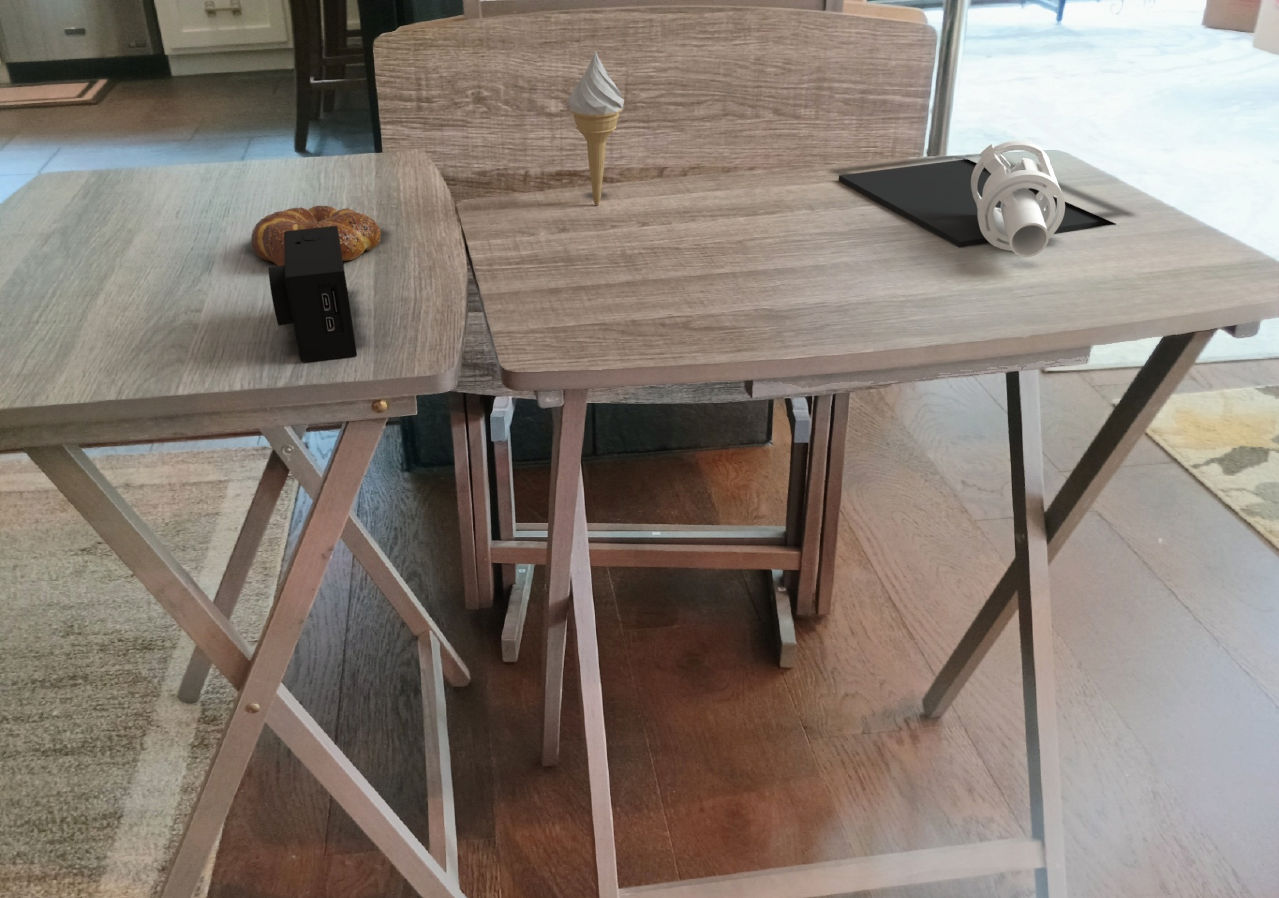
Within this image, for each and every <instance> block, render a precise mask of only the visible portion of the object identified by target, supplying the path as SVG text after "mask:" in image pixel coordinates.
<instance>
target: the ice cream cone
mask: <svg viewBox="0 0 1279 898" xmlns="http://www.w3.org/2000/svg"><path fill="white" fill-rule="evenodd" d="M622 97H623V95H622V93H621V91H620V90H619V88H618V87H617V85H616V84H615V82H614V81H613V80H612V79H611V76H610V74H609V73H608V71H607V70H606V68H605V66H604V65H603V62H602V61H601V58H600V57H599V55H598V52H597V51H596V50H595V51H594V53H593V55H592V57H591V60H590V62H589V64H588V66H587V68H586V70H585V71H584V73H583V75H582V76H581V78H580V79H579V81H578V83H577V84H576V86H575V88H574V89H573V90H572V93H571V95H570V96H569V97H568V99H567V102H568V107H569V112H570V113H571V114H572V115H573V116H572V117H573V119H574V123H575V125H576V126H575V128H576V131H577V130H578V131H579V133H580V134H581V135H582V136H583V137H584V139H585V141H586V150H587V160H588V166H589V177H590V183H591V191H592V200H593V204H594V205H595V206H599V205H600V203H601V199H602V188H603V181H604V180H603V179H604V171H605V163H606V162H605V160H606V149H607V140H608V138H609V137H610V135H611V134H612V133H613V131H614V130H616V129H617V123H618V120H619V117H620V113H621V112H622V111H623V109H624V104H625V99H624V98H622Z"/></svg>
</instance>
